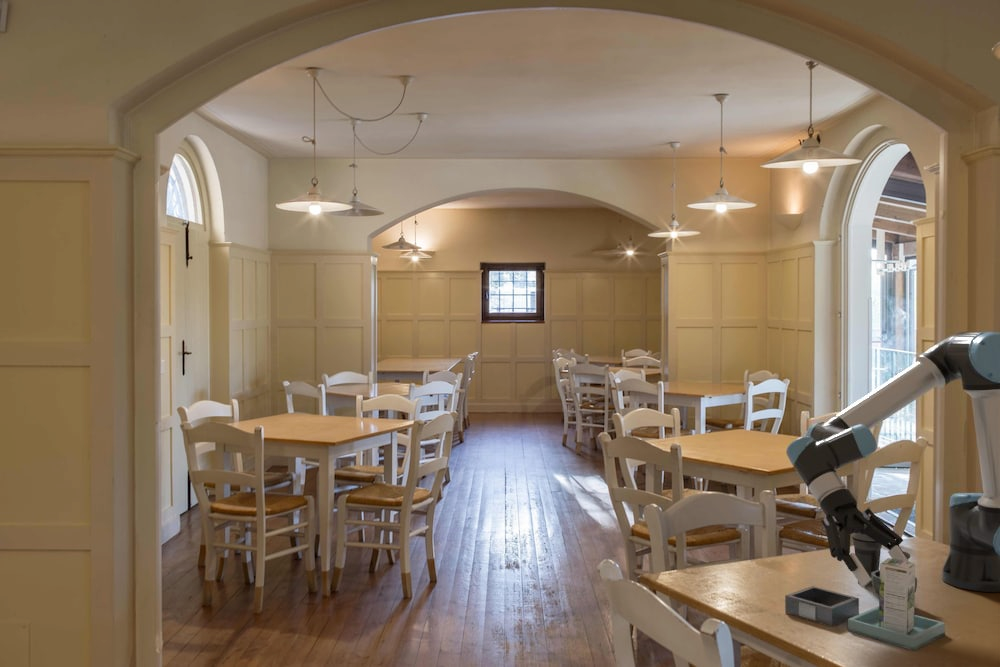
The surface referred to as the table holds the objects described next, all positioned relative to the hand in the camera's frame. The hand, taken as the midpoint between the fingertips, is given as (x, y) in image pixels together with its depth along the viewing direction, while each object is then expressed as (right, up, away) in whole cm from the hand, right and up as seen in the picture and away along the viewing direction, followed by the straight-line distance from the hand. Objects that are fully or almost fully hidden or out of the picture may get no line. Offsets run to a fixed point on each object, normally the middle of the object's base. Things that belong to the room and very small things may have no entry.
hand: (889, 579), depth 176 cm
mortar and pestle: (+10, -11, +17) cm, 23 cm away
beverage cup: (+10, -11, +33) cm, 36 cm away
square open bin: (-10, -11, +10) cm, 18 cm away
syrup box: (+1, -11, -1) cm, 11 cm away
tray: (+1, -11, -1) cm, 11 cm away
